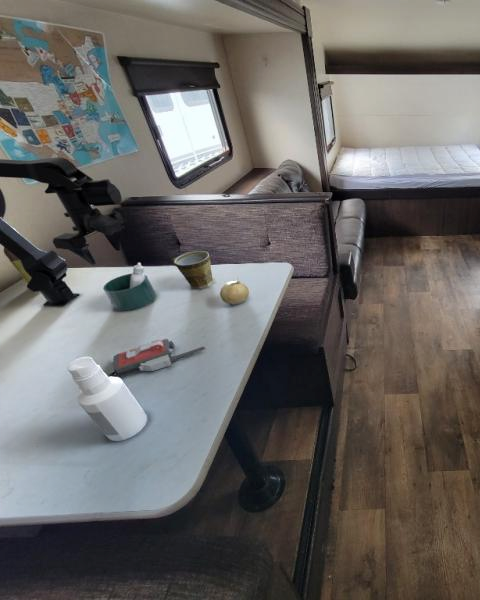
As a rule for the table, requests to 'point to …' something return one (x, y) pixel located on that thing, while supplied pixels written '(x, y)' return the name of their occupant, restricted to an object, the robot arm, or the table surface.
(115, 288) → the canister
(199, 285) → the ceramic cup
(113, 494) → the table surface
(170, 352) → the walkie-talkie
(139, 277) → the eye dropper bottle
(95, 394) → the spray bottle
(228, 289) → the onion
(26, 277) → the sauce bottle
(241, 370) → the table surface
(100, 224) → the robot arm
